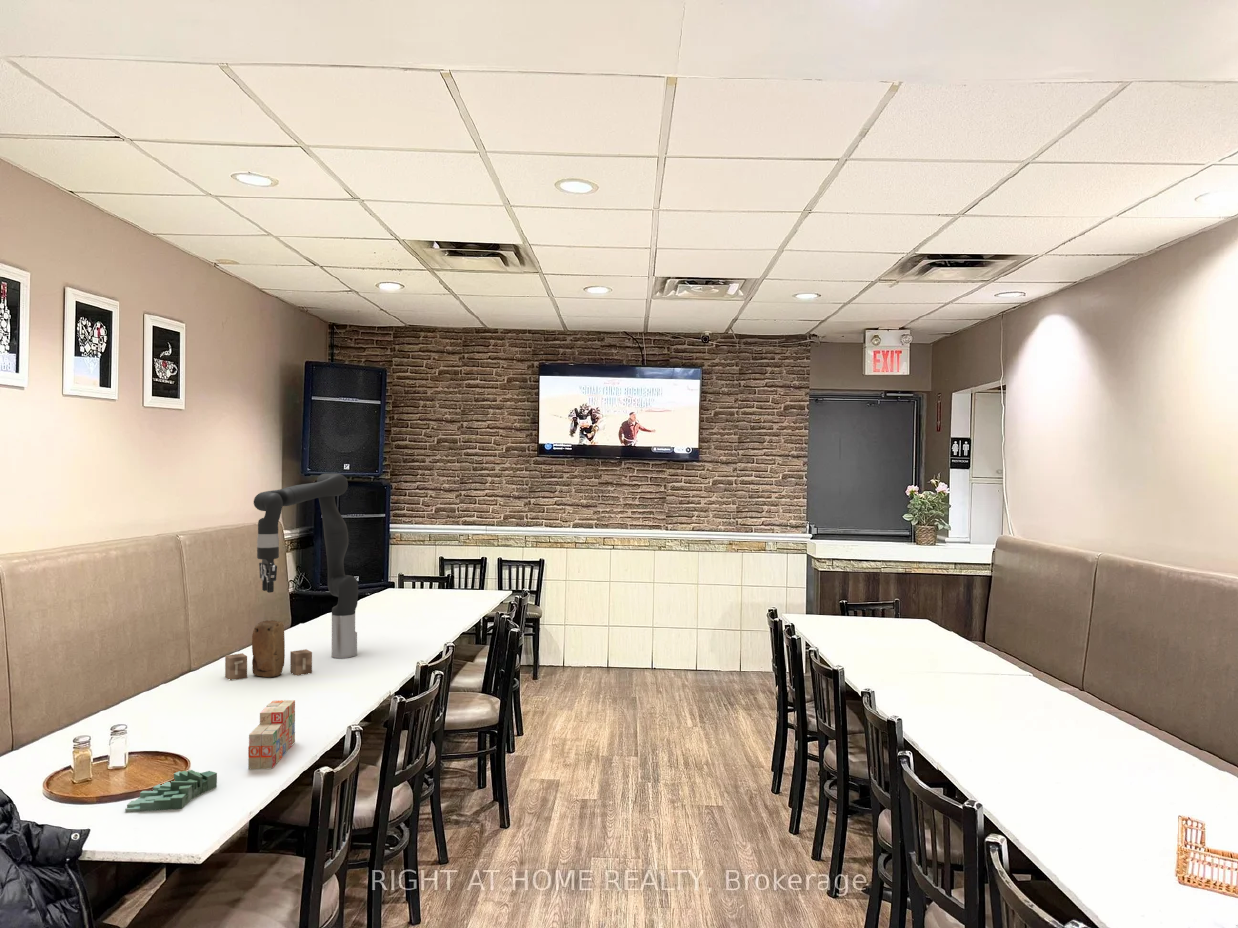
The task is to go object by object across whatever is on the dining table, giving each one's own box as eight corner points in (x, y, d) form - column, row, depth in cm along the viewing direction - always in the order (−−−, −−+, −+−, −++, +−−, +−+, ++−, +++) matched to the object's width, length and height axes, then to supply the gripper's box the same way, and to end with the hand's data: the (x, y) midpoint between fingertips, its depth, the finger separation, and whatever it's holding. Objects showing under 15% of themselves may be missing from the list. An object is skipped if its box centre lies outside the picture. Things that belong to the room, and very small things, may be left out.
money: (200, 810, 195) (200, 789, 195) (123, 814, 192) (123, 793, 192) (225, 777, 215) (225, 758, 215) (156, 781, 212) (156, 762, 212)
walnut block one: (306, 670, 323) (306, 649, 323) (312, 673, 318) (312, 652, 318) (290, 672, 319) (290, 651, 319) (296, 675, 315) (296, 654, 314)
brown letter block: (242, 674, 316) (242, 653, 316) (247, 677, 311) (247, 656, 311) (225, 677, 312) (225, 655, 312) (230, 680, 307) (230, 658, 307)
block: (286, 673, 317) (286, 620, 317) (274, 678, 310) (274, 624, 310) (261, 671, 320) (261, 619, 320) (248, 676, 313) (248, 622, 313)
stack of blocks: (272, 769, 220) (273, 722, 220) (247, 770, 219) (247, 722, 219) (295, 742, 241) (295, 699, 241) (272, 742, 240) (272, 699, 240)
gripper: (284, 546, 312) (284, 592, 312) (272, 543, 323) (272, 588, 323) (263, 548, 307) (263, 594, 307) (251, 544, 318) (251, 590, 318)
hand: (267, 591), depth 315 cm, fingers open, 5 cm apart
